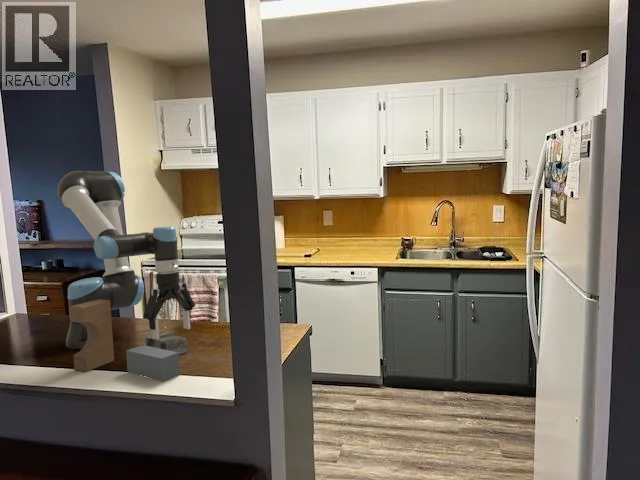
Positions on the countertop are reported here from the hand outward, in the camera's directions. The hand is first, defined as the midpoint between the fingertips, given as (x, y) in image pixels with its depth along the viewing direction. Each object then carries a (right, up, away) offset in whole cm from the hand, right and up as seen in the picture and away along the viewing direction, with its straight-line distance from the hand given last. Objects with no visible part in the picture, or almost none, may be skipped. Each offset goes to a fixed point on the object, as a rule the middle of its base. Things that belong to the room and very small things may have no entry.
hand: (171, 333), depth 168 cm
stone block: (-1, -6, 0) cm, 6 cm away
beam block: (+1, -8, -23) cm, 24 cm away
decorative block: (-20, -8, -14) cm, 25 cm away
